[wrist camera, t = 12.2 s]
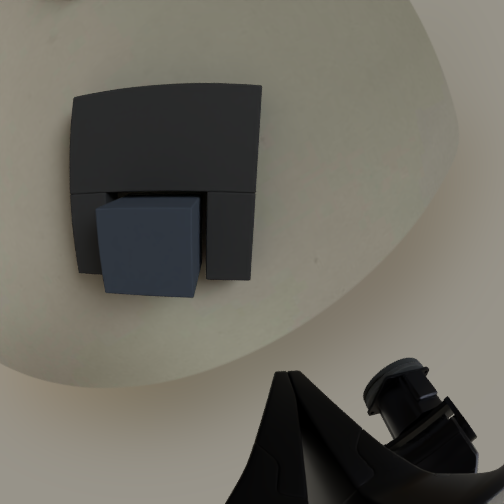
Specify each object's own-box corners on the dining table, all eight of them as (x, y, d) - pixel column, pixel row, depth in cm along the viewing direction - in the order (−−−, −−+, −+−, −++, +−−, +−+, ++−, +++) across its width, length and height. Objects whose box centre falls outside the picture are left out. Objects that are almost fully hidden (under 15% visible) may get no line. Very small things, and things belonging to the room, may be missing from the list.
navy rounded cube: (201, 263, 19) (193, 298, 14) (131, 261, 19) (105, 293, 14) (202, 194, 17) (192, 207, 13) (127, 194, 17) (94, 208, 12)
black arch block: (248, 268, 19) (250, 280, 18) (90, 263, 18) (78, 273, 16) (258, 92, 16) (262, 85, 14) (86, 101, 14) (73, 97, 13)
